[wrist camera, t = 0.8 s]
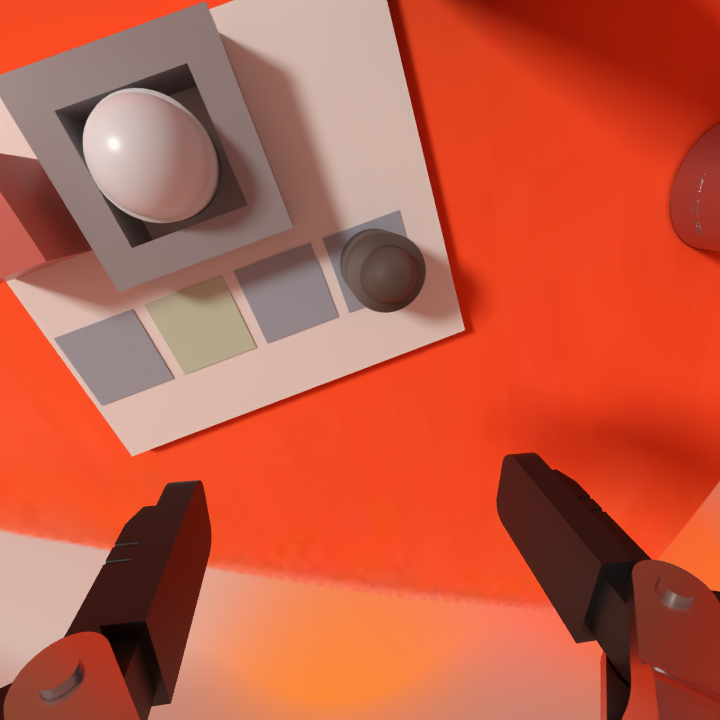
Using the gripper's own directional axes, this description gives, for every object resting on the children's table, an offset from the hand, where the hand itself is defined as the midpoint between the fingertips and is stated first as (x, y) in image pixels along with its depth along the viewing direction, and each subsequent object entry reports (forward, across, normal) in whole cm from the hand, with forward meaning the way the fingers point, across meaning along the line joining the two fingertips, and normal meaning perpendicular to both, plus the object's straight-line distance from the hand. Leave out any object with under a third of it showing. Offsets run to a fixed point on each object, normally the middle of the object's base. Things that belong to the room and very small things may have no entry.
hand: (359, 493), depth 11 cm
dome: (+16, +8, -9) cm, 20 cm away
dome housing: (+18, +8, -9) cm, 21 cm away
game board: (+19, +6, -4) cm, 20 cm away
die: (+18, +17, -6) cm, 25 cm away
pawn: (+18, -3, -3) cm, 19 cm away
